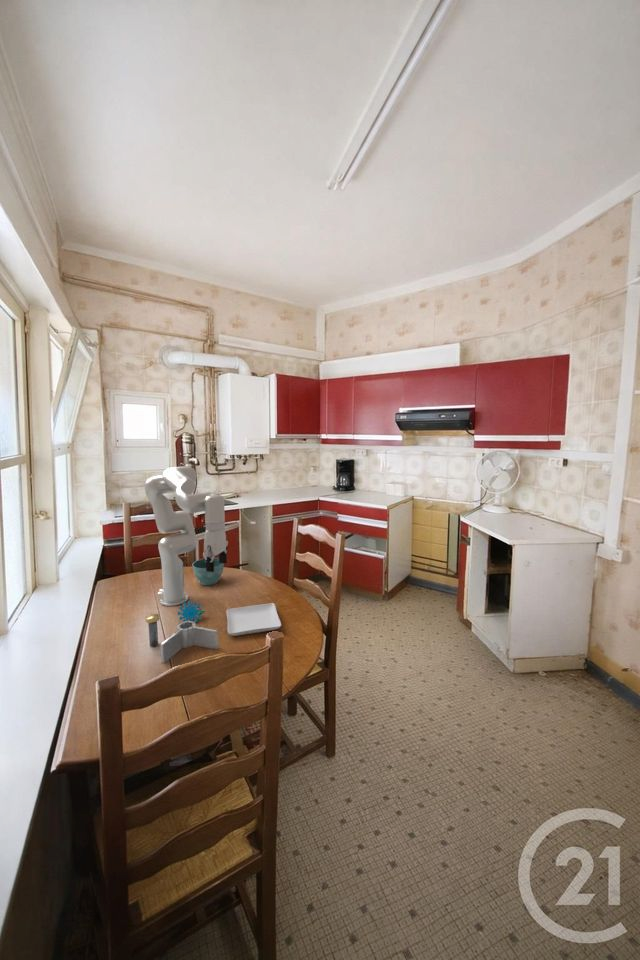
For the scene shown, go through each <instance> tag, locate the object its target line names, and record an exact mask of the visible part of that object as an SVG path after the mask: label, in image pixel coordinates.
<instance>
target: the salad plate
mask: <svg viewBox="0 0 640 960" xmlns="http://www.w3.org/2000/svg"><path fill="white" fill-rule="evenodd" d="M225 613H226V620H227V621H226V623H227V634H228V635H230V636H242V635H247V634H248V635H249V634H257V633H262V632H263V633H264V632H270V631H275V630H278V629H280V628H281V627H282V622H281V620H280V617H279V615H278V612H277V607H276V604H275V603H274V602H269V603H263V604H254V605H253V604H252V605H247V606H241V607H233V608H227V609H226V612H225Z"/></svg>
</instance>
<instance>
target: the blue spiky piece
mask: <svg viewBox="0 0 640 960" xmlns="http://www.w3.org/2000/svg"><path fill="white" fill-rule="evenodd" d="M187 603H188V604H187ZM197 604H198V601H197V602H196V601H194V602H193V604H192V600H188V602H187V601H186V602H184V603H182V606H183V607H182V606H181V605H180V606H179V607H178V611H177V616H179V617H178V620H179V621H182V622H185V621H193V619H194V621H193V622H195V623H197V622H198V620H199V619H201V618H202V615H203V613H204V612H205V611H206V610H205V608H203V609H201V608H202V607H201V604H198V605H197ZM186 605H187V606H186ZM196 605H197V606H196ZM183 619H184V620H183Z"/></svg>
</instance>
